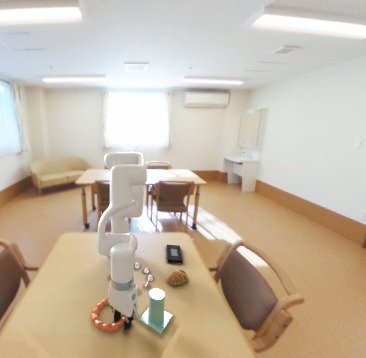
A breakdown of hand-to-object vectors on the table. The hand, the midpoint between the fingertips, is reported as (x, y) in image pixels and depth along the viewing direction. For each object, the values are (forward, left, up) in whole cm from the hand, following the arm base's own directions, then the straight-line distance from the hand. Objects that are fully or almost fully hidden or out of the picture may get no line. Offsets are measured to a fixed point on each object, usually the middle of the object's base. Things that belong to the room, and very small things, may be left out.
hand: (122, 324), depth 74 cm
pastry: (+6, +33, 0) cm, 34 cm away
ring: (-6, 0, +1) cm, 6 cm away
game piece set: (-12, +21, 0) cm, 24 cm away
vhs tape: (-4, +50, 0) cm, 50 cm away
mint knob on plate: (+8, +9, 0) cm, 12 cm away
